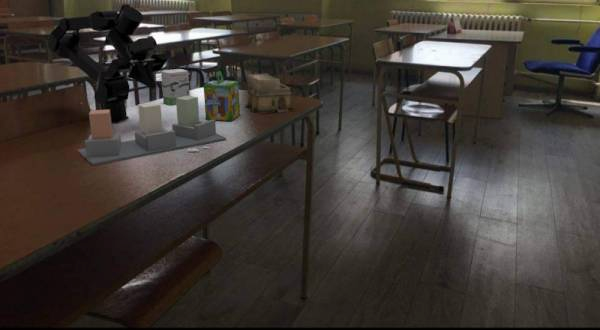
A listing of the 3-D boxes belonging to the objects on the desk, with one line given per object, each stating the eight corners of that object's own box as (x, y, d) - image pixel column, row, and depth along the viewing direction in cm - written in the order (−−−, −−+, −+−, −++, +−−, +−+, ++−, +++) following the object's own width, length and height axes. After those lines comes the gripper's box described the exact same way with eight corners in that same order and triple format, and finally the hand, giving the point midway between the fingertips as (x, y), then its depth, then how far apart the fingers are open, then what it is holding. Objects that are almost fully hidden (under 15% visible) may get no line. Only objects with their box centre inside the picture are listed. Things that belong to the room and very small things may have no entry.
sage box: (178, 132, 143) (175, 98, 139) (189, 129, 146) (187, 95, 143) (189, 135, 141) (186, 100, 137) (199, 131, 144) (197, 97, 141)
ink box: (170, 105, 178) (167, 72, 174) (163, 103, 182) (160, 70, 178) (191, 102, 184) (188, 69, 180) (183, 100, 188) (181, 68, 184)
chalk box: (232, 122, 158) (230, 75, 153) (204, 120, 160) (202, 73, 155) (241, 115, 167) (239, 70, 162) (215, 113, 169) (212, 69, 164)
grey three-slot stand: (76, 150, 130) (74, 133, 128) (202, 128, 150) (201, 113, 149) (93, 165, 119) (90, 147, 118) (226, 140, 140) (225, 124, 138)
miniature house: (256, 116, 166) (255, 81, 162) (243, 106, 178) (242, 74, 174) (297, 112, 172) (297, 78, 168) (282, 103, 184) (282, 72, 180)
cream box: (141, 140, 135) (138, 104, 132) (157, 137, 138) (154, 102, 134) (147, 144, 132) (143, 107, 129) (163, 141, 135) (160, 105, 131)
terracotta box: (95, 148, 129) (90, 110, 125) (114, 147, 130) (109, 109, 126) (94, 153, 125) (88, 114, 122) (113, 151, 126) (108, 113, 123)
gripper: (107, 29, 134) (139, 74, 132) (161, 25, 149) (190, 65, 147) (93, 56, 141) (123, 100, 139) (145, 50, 156) (173, 89, 154)
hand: (154, 87), depth 144 cm, fingers closed
